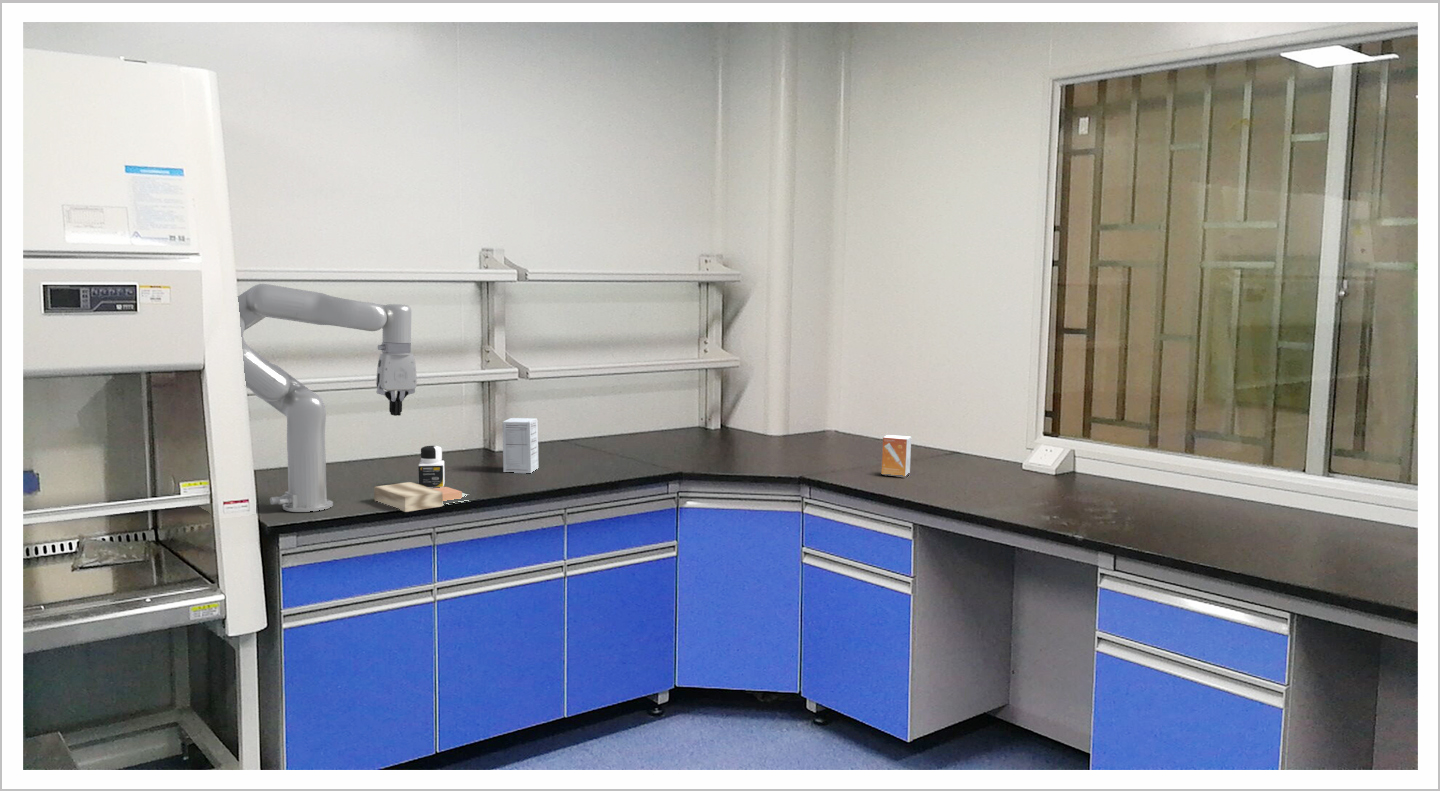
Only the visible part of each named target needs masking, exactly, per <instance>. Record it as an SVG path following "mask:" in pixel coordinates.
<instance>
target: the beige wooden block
mask: <svg viewBox="0 0 1440 791" xmlns="http://www.w3.org/2000/svg"><path fill="white" fill-rule="evenodd" d="M373 488H374V490H373V491H374V494H373V495H374V502H376V501H378V502H377V503H379V502H381V503H380V504H382V503H384V504H383V505H385V504H387V505H386V506H388V505H390V506H393V507H396V508H399V509H400V510H399V509H398V510H399V511H402V512H404V513H409V512H414V511H419V510H426V509H433V508H440V507H443V506H444V505H443V501H442V492H441V491H438V490H435V489H433V488H428V487H425V486H422V485H419V483H415V482H412V481H407V482H400V483H399V482H398V483H393V484H386V485H384V484H383V485H378V486H377V485H376V486H374V487H373ZM390 506H389V507H390ZM393 507H392V508H393ZM396 508H395V509H396Z"/></svg>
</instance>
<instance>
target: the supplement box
mask: <svg viewBox="0 0 1440 791" xmlns="http://www.w3.org/2000/svg"><path fill="white" fill-rule="evenodd" d="M538 423H539V422H538V418H535V417H534V418H533V417H530V418H527V417H510V418H508V419H506V420H503V421H502V456H503V457H502V463H503V464H502V465H503V467H502V468H503V470H502V471H503V472H514V473H513V474H526V473H531V474H533V473H534V472H535V470H536V469H537V470H539V469H538V468H539V429H538V428H539V426H538V425H539V424H538ZM537 470H536V471H537ZM533 471H534V472H533ZM532 472H533V473H532Z"/></svg>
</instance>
